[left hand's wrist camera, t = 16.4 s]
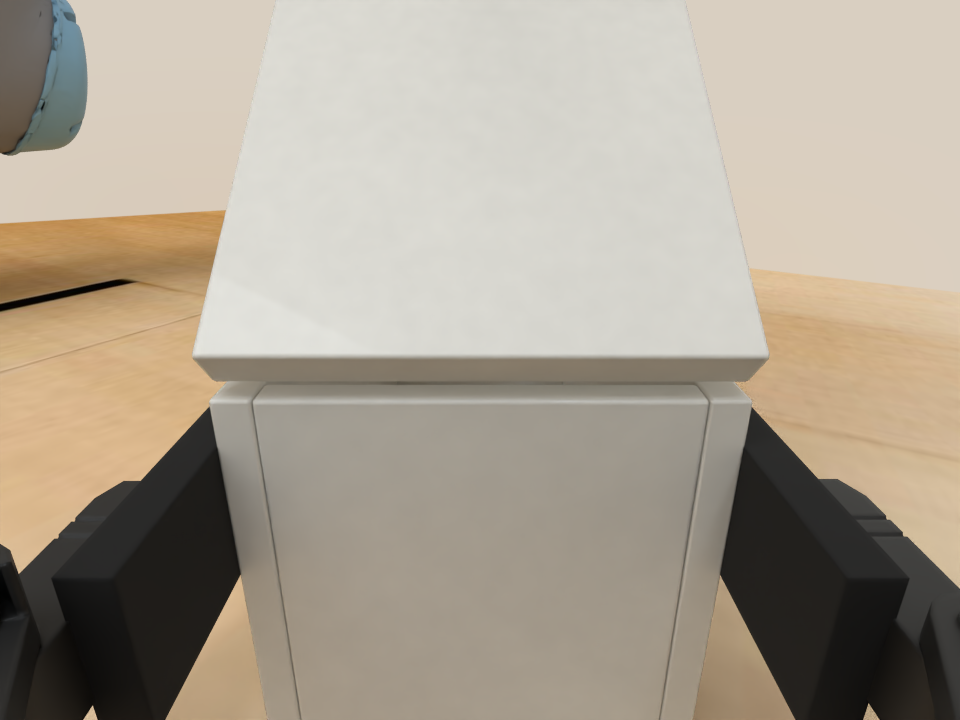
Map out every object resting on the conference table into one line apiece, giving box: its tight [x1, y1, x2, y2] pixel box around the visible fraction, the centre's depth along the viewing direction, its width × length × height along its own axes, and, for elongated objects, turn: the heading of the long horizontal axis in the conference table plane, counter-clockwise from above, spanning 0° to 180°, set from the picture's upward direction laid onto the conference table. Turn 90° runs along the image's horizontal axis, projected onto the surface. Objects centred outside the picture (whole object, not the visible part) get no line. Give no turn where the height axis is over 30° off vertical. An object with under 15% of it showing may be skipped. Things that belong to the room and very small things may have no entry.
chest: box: [209, 381, 752, 720], centre depth 19 cm, size 17×9×9 cm, turn 0°
